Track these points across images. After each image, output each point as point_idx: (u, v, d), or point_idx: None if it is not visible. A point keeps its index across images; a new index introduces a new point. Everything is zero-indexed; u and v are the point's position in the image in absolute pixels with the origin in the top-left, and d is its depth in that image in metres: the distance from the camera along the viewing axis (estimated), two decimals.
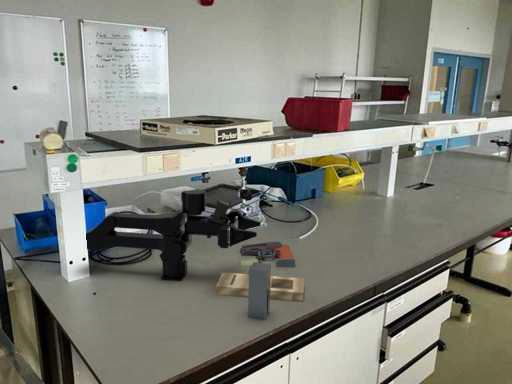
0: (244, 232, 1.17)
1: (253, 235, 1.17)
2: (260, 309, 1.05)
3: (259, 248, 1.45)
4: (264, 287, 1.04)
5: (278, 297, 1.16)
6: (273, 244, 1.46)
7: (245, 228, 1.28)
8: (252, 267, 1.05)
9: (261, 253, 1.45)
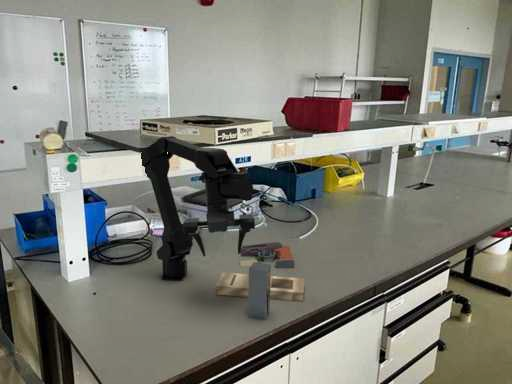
0: None
1: None
2: (260, 309, 1.05)
3: (259, 249, 1.45)
4: (264, 287, 1.04)
5: (278, 297, 1.16)
6: (273, 245, 1.45)
7: None
8: (252, 267, 1.05)
9: (261, 254, 1.44)
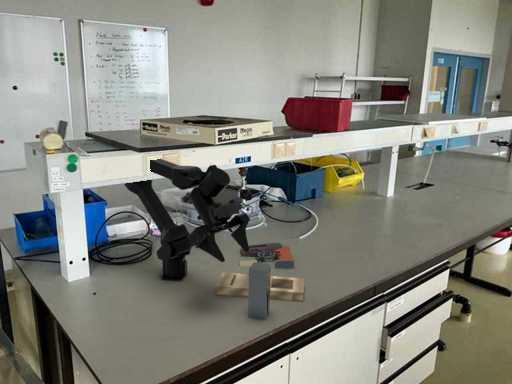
0: (215, 250, 1.06)
1: (220, 259, 1.07)
2: (260, 309, 1.05)
3: (259, 249, 1.45)
4: (264, 287, 1.04)
5: (278, 297, 1.16)
6: (273, 245, 1.45)
7: (236, 240, 1.16)
8: (252, 267, 1.05)
9: (261, 254, 1.44)
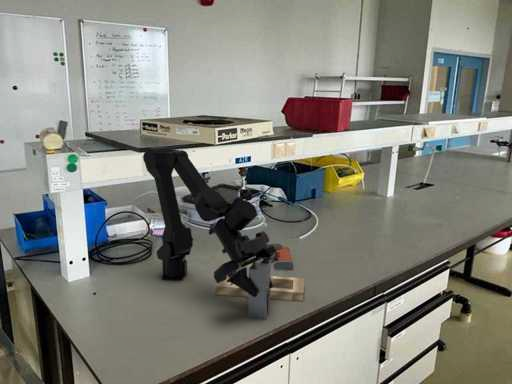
0: (247, 285, 1.03)
1: (252, 294, 1.04)
2: (260, 309, 1.05)
3: None
4: (264, 287, 1.04)
5: (278, 297, 1.16)
6: None
7: None
8: (252, 267, 1.05)
9: None
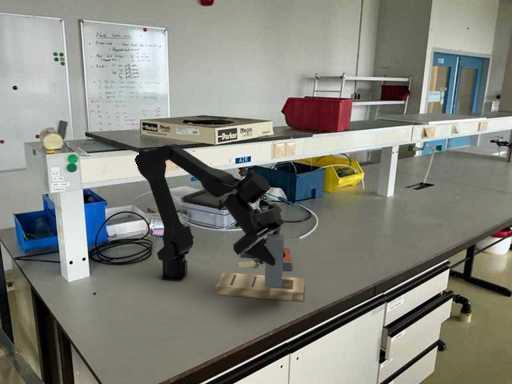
0: (266, 254, 1.07)
1: (270, 263, 1.08)
2: (277, 277, 1.10)
3: None
4: (281, 256, 1.08)
5: (278, 297, 1.16)
6: None
7: None
8: (268, 238, 1.08)
9: None
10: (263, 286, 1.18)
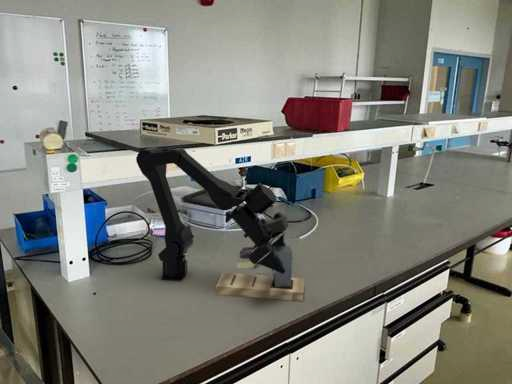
0: (277, 263, 1.13)
1: (281, 271, 1.14)
2: (286, 286, 1.18)
3: None
4: (290, 266, 1.16)
5: (278, 297, 1.16)
6: None
7: None
8: (277, 250, 1.16)
9: None
10: (263, 286, 1.18)
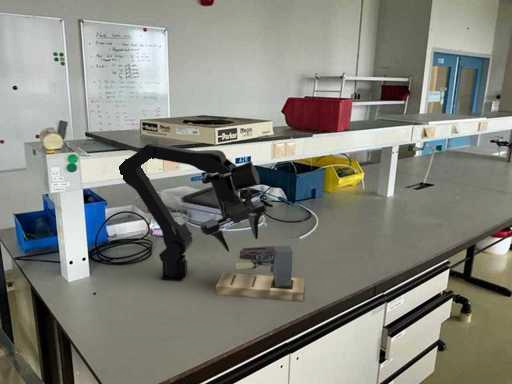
0: (221, 242, 1.19)
1: None
2: (286, 287, 1.18)
3: (258, 252, 1.42)
4: (290, 266, 1.16)
5: (278, 297, 1.16)
6: (272, 248, 1.42)
7: (250, 223, 1.25)
8: (277, 250, 1.16)
9: (260, 257, 1.41)
10: (263, 286, 1.18)
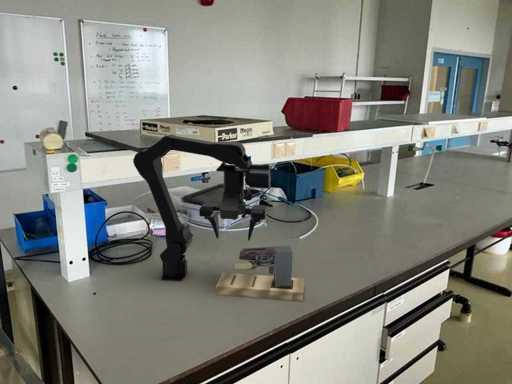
0: None
1: None
2: (286, 287, 1.18)
3: (258, 252, 1.42)
4: (290, 266, 1.16)
5: (278, 297, 1.16)
6: (272, 249, 1.41)
7: None
8: (277, 250, 1.16)
9: (259, 257, 1.41)
10: (263, 286, 1.18)
